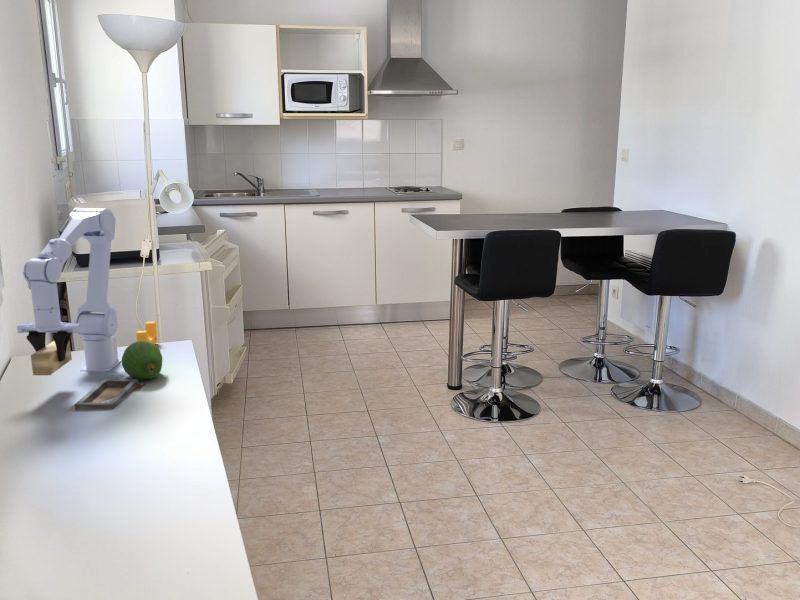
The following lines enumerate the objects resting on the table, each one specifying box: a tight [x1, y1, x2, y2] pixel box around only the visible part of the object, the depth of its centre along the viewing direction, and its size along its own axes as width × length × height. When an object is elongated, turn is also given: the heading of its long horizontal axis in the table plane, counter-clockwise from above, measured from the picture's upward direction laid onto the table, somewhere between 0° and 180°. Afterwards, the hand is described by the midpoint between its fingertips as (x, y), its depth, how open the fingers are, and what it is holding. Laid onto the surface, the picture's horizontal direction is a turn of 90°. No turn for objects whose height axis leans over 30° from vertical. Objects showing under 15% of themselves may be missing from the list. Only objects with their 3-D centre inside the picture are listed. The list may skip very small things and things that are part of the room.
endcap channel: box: [67, 378, 146, 412], centre depth 175 cm, size 18×12×2 cm
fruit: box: [121, 340, 163, 381], centre depth 188 cm, size 15×10×10 cm, turn 29°
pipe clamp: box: [135, 321, 158, 346], centre depth 216 cm, size 12×4×6 cm, turn 4°
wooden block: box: [30, 340, 73, 376], centre depth 178 cm, size 12×4×5 cm, turn 0°
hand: (52, 360), depth 178 cm, fingers closed on wooden block, 4 cm apart
